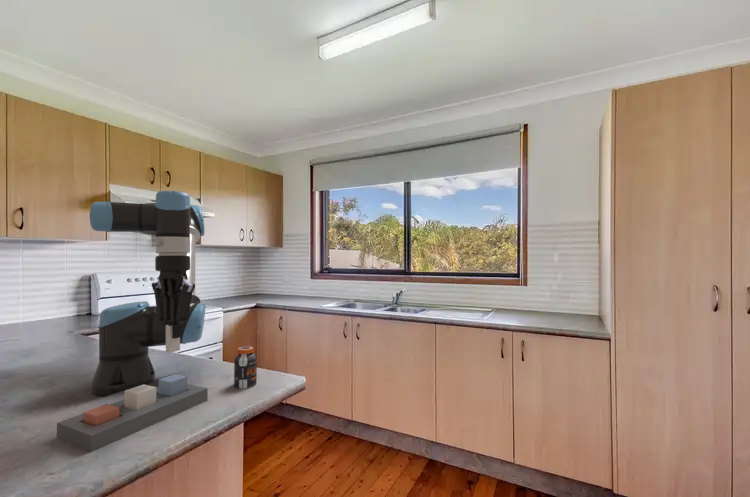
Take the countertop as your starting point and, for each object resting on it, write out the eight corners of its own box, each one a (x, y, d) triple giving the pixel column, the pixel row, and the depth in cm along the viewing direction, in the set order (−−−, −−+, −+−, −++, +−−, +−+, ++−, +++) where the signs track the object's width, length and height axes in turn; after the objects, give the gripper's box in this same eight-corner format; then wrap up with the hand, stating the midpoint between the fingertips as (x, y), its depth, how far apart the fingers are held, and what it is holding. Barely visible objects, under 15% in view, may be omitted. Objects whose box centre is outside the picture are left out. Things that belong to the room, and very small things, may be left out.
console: (56, 442, 74) (56, 422, 74) (175, 396, 98) (175, 381, 98) (91, 457, 69) (91, 435, 69) (207, 404, 93) (207, 388, 93)
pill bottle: (249, 392, 100) (249, 351, 100) (229, 391, 101) (229, 349, 101) (260, 385, 106) (260, 345, 106) (241, 383, 107) (241, 344, 107)
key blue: (158, 396, 90) (158, 379, 90) (175, 389, 94) (175, 374, 94) (170, 399, 88) (170, 382, 88) (187, 392, 92) (187, 376, 92)
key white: (124, 408, 82) (124, 390, 82) (143, 401, 86) (143, 384, 86) (136, 412, 80) (136, 394, 80) (156, 404, 84) (156, 387, 84)
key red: (83, 431, 75) (83, 412, 75) (106, 422, 79) (106, 404, 79) (96, 436, 73) (96, 416, 73) (119, 426, 77) (119, 407, 77)
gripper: (140, 254, 90) (140, 352, 90) (177, 254, 85) (176, 358, 84) (169, 254, 97) (169, 345, 97) (204, 254, 91) (204, 350, 91)
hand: (172, 351), depth 90 cm, fingers closed
